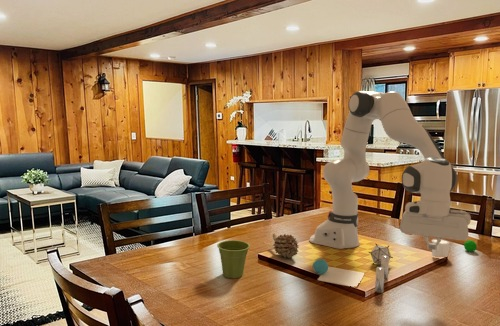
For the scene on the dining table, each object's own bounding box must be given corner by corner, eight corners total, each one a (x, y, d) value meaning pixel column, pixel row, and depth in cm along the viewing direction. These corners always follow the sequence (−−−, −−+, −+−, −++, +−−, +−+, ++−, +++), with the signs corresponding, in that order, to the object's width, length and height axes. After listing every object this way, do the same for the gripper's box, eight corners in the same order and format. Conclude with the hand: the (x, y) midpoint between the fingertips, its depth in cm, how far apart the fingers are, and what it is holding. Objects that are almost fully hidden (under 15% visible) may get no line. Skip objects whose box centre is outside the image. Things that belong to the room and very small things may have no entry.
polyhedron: (471, 253, 171) (471, 243, 171) (461, 250, 176) (461, 239, 175) (479, 252, 173) (479, 241, 173) (468, 248, 178) (469, 238, 177)
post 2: (379, 278, 144) (380, 257, 143) (380, 275, 146) (381, 254, 145) (387, 279, 143) (388, 258, 142) (388, 277, 145) (389, 255, 144)
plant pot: (237, 284, 137) (238, 252, 136) (210, 276, 144) (210, 246, 142) (255, 273, 147) (255, 243, 146) (229, 266, 154) (229, 238, 152)
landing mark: (317, 280, 142) (317, 279, 142) (327, 266, 154) (327, 266, 154) (357, 288, 136) (357, 287, 136) (364, 273, 148) (364, 273, 148)
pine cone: (304, 261, 159) (305, 237, 158) (283, 264, 156) (284, 240, 155) (280, 244, 180) (280, 223, 178) (260, 247, 176) (260, 225, 175)
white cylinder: (450, 261, 162) (452, 244, 161) (432, 259, 163) (433, 243, 163) (446, 255, 169) (447, 239, 168) (428, 254, 170) (429, 238, 169)
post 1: (374, 292, 133) (375, 269, 132) (375, 289, 135) (376, 266, 134) (382, 293, 132) (383, 270, 131) (383, 290, 134) (384, 267, 133)
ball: (322, 279, 145) (308, 271, 147) (326, 273, 149) (313, 266, 151) (328, 267, 143) (314, 259, 145) (332, 261, 148) (318, 254, 150)
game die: (380, 275, 156) (377, 260, 150) (366, 261, 162) (362, 246, 156) (398, 263, 157) (396, 248, 151) (383, 249, 164) (381, 234, 158)
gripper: (470, 209, 127) (467, 251, 129) (402, 202, 136) (400, 241, 138) (471, 213, 122) (468, 257, 123) (400, 206, 130) (398, 247, 132)
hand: (431, 249), depth 131 cm, fingers closed
